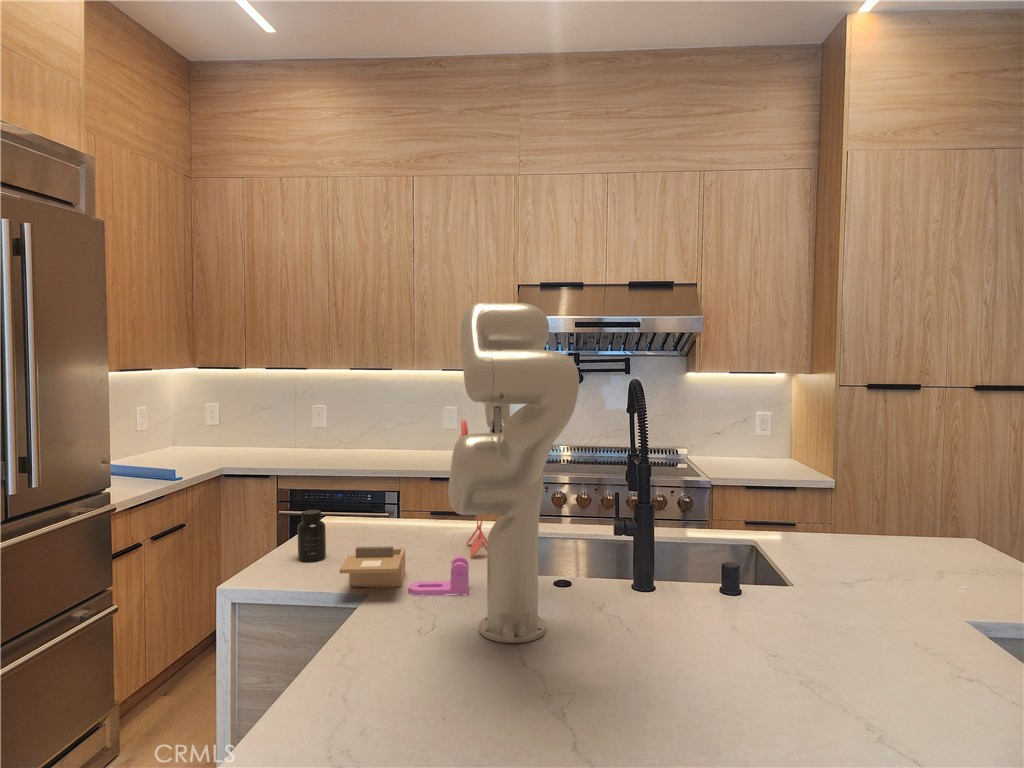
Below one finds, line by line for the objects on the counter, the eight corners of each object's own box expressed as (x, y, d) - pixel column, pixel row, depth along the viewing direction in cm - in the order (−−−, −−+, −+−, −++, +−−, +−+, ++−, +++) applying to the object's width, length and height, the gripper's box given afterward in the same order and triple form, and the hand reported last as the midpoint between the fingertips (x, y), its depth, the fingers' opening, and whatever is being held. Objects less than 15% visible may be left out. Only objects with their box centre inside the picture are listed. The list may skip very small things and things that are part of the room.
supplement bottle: (297, 556, 176) (297, 509, 175) (325, 553, 178) (324, 507, 177) (297, 563, 169) (297, 515, 169) (326, 561, 171) (326, 513, 171)
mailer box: (401, 586, 152) (401, 560, 152) (349, 588, 152) (349, 561, 151) (405, 573, 162) (405, 548, 162) (356, 574, 161) (356, 549, 161)
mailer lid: (397, 572, 143) (397, 559, 143) (339, 573, 142) (339, 560, 142) (402, 558, 153) (402, 545, 153) (348, 559, 152) (348, 546, 152)
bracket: (468, 586, 153) (468, 556, 153) (468, 595, 147) (468, 563, 147) (409, 588, 152) (409, 557, 152) (407, 596, 147) (407, 564, 146)
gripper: (516, 375, 141) (516, 464, 142) (511, 373, 156) (511, 453, 157) (479, 375, 141) (479, 464, 141) (478, 373, 156) (478, 454, 156)
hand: (496, 458), depth 149 cm, fingers closed
